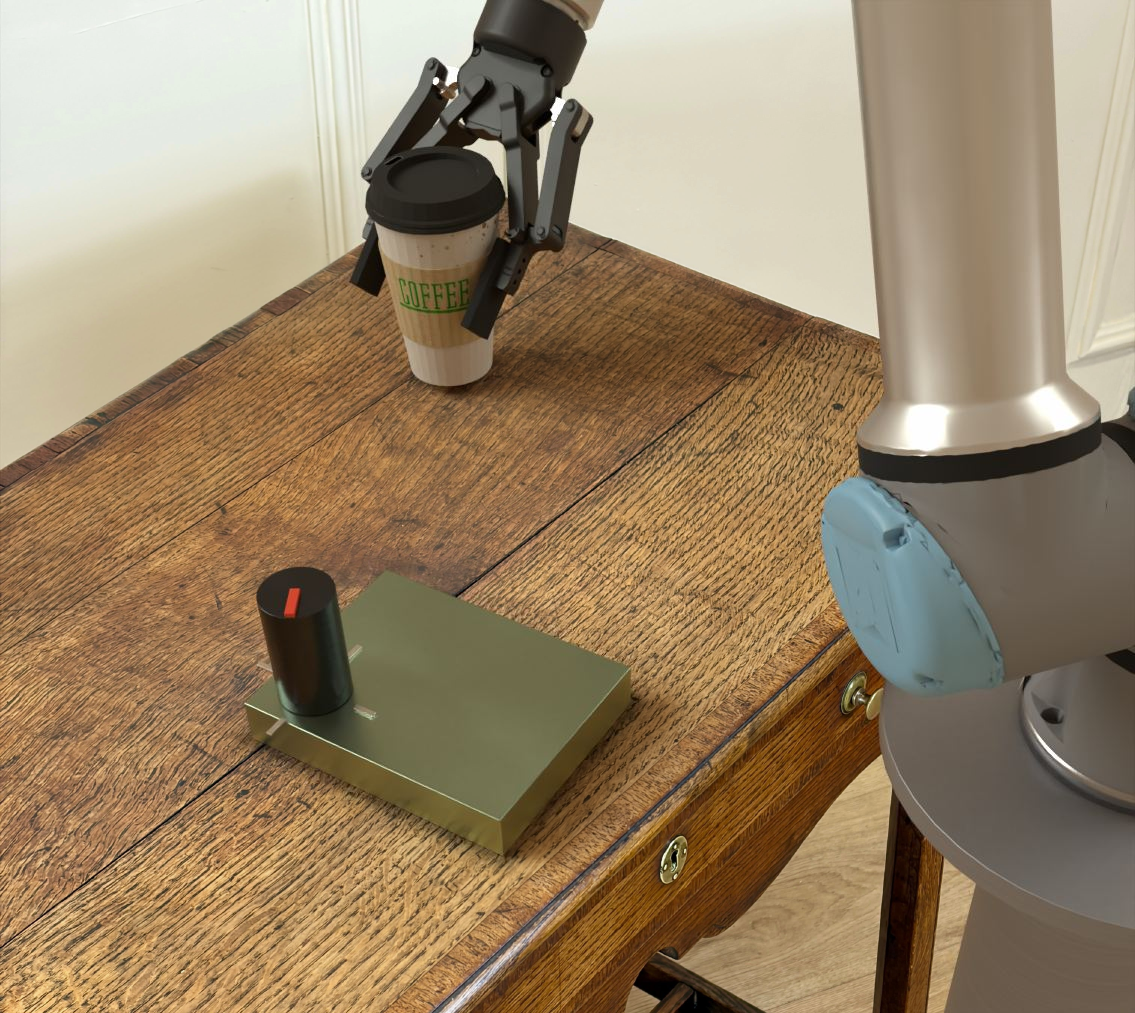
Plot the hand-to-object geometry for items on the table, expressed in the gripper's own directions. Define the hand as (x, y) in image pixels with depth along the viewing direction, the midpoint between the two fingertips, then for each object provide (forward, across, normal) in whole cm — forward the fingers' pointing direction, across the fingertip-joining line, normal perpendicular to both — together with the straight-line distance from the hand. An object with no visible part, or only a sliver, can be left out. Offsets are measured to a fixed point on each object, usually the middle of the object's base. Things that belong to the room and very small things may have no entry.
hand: (417, 310), depth 114 cm
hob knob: (+24, -18, +19) cm, 36 cm away
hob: (+23, -23, +13) cm, 36 cm away
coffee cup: (+2, 0, -6) cm, 7 cm away
